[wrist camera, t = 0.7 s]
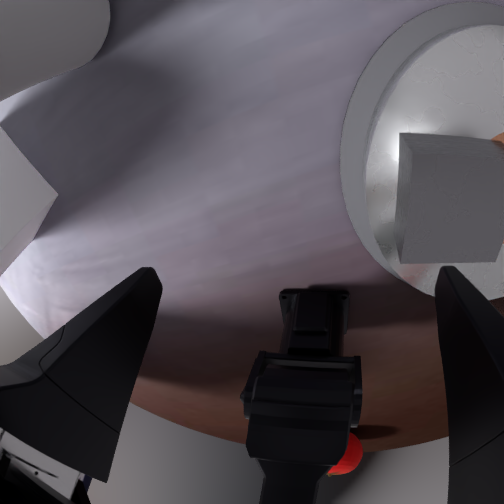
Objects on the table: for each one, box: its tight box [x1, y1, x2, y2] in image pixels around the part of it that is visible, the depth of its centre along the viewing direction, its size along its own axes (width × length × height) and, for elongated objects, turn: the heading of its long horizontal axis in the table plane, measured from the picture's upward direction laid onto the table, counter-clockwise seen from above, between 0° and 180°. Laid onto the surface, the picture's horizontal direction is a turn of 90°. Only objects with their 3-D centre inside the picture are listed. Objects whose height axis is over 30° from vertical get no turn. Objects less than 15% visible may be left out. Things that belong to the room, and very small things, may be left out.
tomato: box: [326, 432, 363, 476], centre depth 52 cm, size 12×12×10 cm
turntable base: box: [340, 2, 504, 284], centre depth 16 cm, size 25×25×1 cm
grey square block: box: [393, 133, 504, 264], centre depth 15 cm, size 7×7×3 cm
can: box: [0, 0, 110, 101], centre depth 10 cm, size 8×8×12 cm
